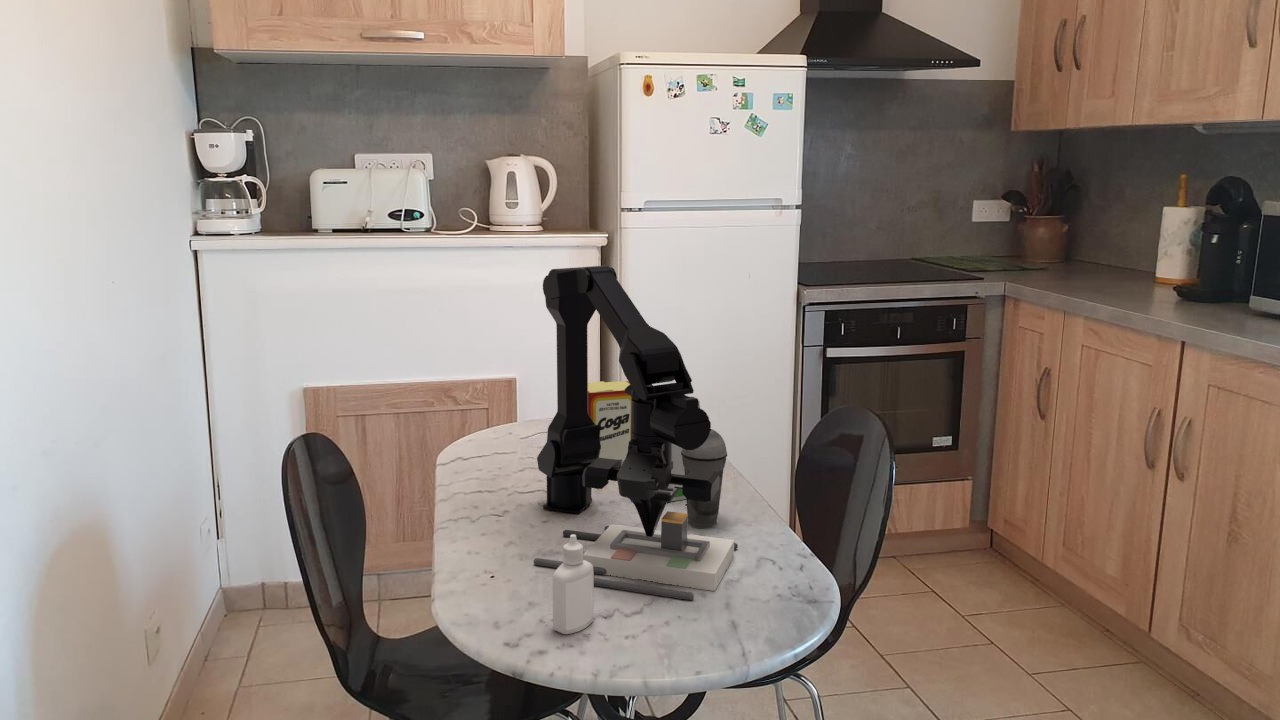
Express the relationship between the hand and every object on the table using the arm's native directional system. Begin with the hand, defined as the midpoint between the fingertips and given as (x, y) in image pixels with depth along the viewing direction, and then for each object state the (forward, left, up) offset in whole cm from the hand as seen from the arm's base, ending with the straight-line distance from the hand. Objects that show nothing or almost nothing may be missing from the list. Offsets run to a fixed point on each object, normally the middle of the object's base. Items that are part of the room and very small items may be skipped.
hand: (650, 535), depth 139 cm
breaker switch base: (+1, 0, -4) cm, 4 cm away
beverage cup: (+3, +17, -4) cm, 18 cm away
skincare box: (-6, +27, -4) cm, 28 cm away
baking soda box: (-20, +37, -4) cm, 42 cm away
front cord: (-3, -8, -4) cm, 9 cm away
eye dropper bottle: (-4, -21, -4) cm, 22 cm away
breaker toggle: (+4, 0, -2) cm, 4 cm away
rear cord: (-2, +7, -4) cm, 8 cm away
